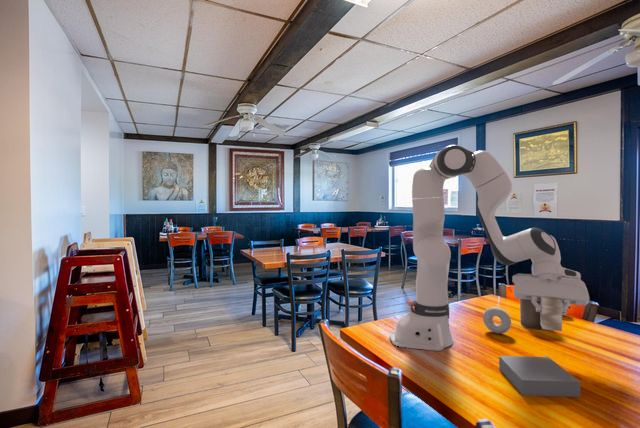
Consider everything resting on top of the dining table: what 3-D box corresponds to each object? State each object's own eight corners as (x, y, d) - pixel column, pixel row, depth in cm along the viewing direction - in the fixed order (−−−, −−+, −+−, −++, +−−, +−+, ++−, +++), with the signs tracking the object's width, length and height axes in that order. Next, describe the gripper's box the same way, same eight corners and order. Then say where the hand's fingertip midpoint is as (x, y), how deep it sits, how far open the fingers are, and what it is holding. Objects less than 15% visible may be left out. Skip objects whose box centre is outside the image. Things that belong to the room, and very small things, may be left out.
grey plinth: (522, 395, 86) (522, 380, 86) (499, 368, 100) (499, 355, 100) (580, 397, 85) (580, 381, 85) (548, 370, 99) (548, 356, 98)
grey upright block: (542, 328, 104) (542, 300, 104) (540, 323, 108) (540, 296, 108) (561, 331, 101) (562, 302, 101) (559, 326, 106) (559, 298, 106)
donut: (512, 335, 125) (512, 308, 125) (510, 337, 123) (509, 311, 123) (484, 328, 132) (484, 303, 132) (481, 331, 130) (481, 305, 130)
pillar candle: (553, 330, 129) (553, 291, 129) (526, 329, 131) (526, 291, 130) (541, 321, 139) (540, 286, 139) (516, 321, 140) (515, 285, 140)
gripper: (512, 267, 115) (513, 303, 107) (586, 273, 106) (593, 312, 97) (511, 278, 119) (512, 312, 111) (582, 284, 110) (589, 322, 101)
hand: (551, 312), depth 104 cm, fingers closed on grey upright block, 5 cm apart
